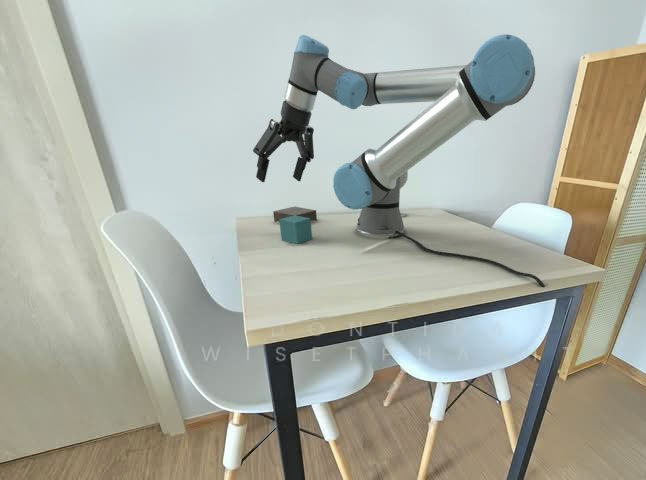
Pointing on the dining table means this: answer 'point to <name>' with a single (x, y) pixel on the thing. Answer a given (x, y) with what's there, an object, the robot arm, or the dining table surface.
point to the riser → (295, 213)
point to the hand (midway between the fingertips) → (279, 179)
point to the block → (295, 229)
